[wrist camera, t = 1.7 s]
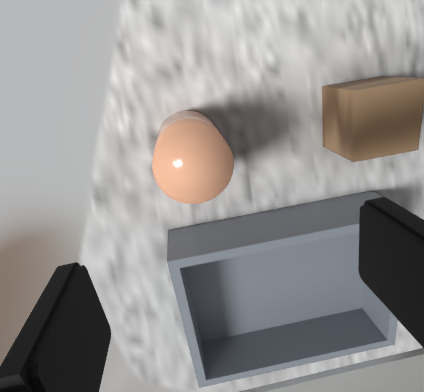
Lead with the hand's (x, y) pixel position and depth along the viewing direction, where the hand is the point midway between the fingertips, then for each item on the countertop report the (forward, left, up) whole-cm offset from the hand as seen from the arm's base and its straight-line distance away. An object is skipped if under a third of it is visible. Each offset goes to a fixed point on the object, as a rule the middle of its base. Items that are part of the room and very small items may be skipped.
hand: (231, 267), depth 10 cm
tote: (+14, +6, -17) cm, 23 cm away
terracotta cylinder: (-1, 0, -17) cm, 17 cm away
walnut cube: (-1, +14, -17) cm, 22 cm away
